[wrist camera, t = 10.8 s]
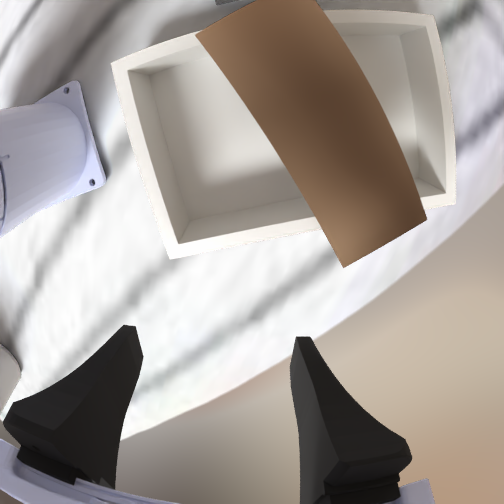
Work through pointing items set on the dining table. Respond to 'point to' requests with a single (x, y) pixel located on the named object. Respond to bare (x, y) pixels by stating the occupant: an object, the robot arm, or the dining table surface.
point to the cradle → (223, 1)
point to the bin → (255, 141)
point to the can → (7, 375)
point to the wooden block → (319, 120)
